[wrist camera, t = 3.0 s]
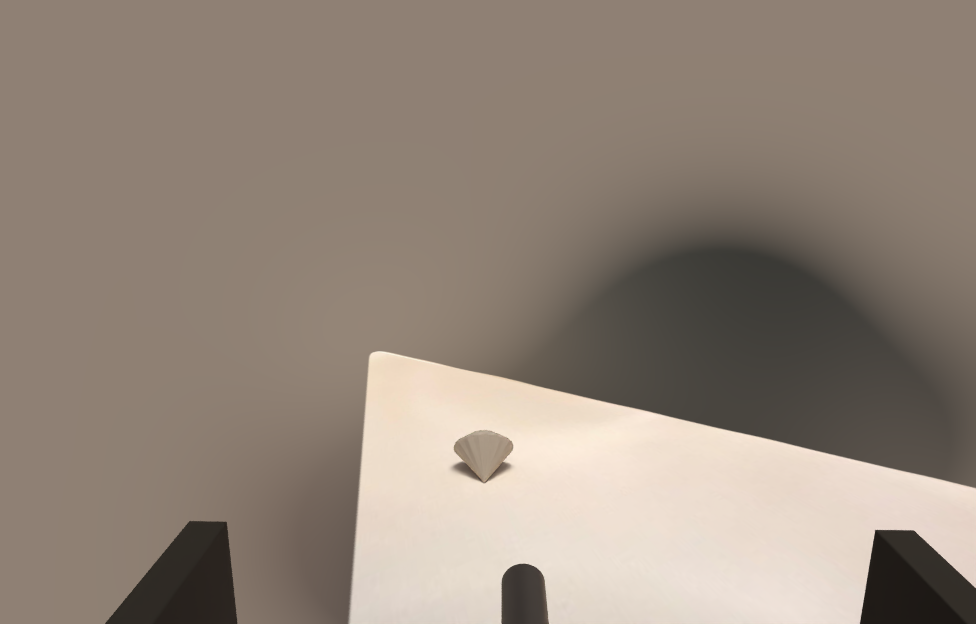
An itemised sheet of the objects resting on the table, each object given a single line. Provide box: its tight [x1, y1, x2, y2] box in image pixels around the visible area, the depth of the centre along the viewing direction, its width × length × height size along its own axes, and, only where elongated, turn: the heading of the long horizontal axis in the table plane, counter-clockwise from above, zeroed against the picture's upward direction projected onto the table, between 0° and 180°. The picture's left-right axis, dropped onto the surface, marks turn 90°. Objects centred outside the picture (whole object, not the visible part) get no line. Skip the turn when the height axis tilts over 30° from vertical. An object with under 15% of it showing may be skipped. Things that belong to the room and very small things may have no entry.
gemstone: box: [454, 430, 513, 483], centre depth 68 cm, size 6×6×5 cm
